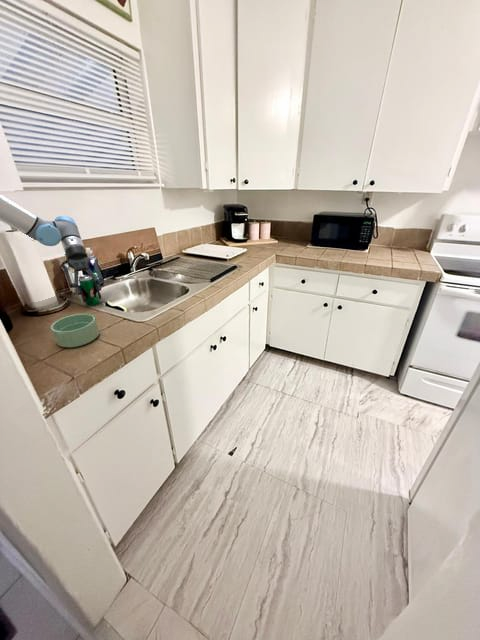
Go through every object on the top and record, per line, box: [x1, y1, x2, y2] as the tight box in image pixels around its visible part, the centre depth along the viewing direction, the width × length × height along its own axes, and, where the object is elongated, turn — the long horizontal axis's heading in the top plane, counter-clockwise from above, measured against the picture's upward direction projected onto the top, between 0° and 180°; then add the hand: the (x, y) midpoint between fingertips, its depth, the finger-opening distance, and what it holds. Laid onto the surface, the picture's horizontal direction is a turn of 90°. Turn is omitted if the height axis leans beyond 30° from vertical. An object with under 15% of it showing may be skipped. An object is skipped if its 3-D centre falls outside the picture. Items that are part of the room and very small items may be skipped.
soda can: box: [78, 274, 100, 307], centre depth 106 cm, size 5×5×12 cm
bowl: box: [50, 313, 100, 348], centre depth 84 cm, size 12×12×6 cm
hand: (92, 299), depth 105 cm, fingers closed on soda can, 5 cm apart
